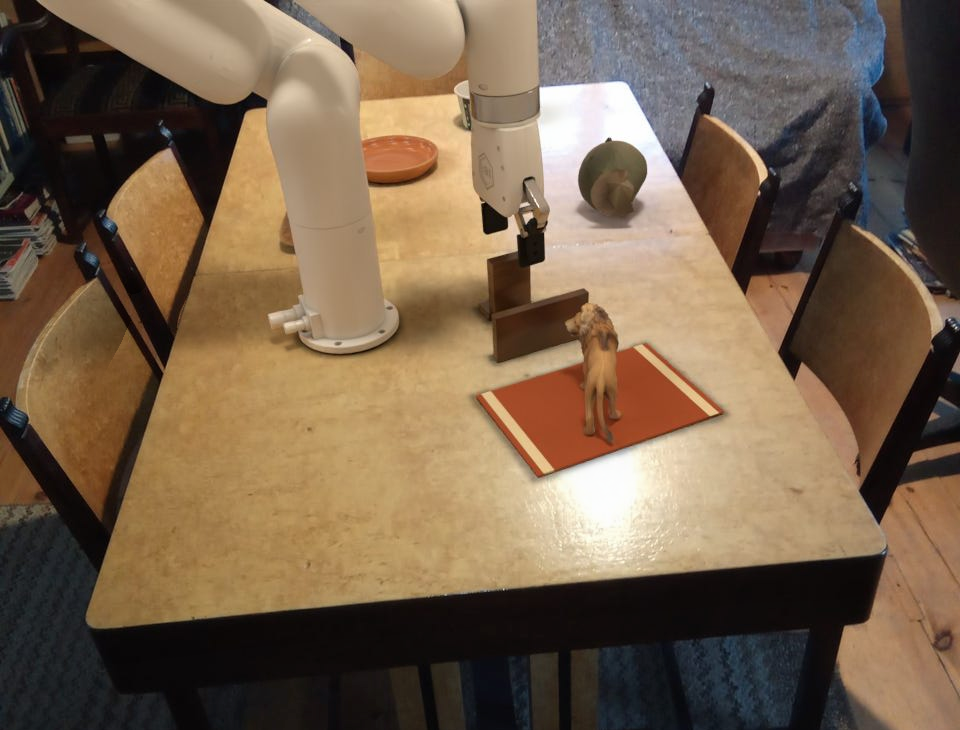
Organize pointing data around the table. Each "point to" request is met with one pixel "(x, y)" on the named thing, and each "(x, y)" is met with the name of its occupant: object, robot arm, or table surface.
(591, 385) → the lion figurine
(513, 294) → the rod with end plates
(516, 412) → the towel
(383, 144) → the saucer
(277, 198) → the table surface
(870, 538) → the table surface
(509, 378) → the table surface
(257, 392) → the table surface
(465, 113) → the food container
